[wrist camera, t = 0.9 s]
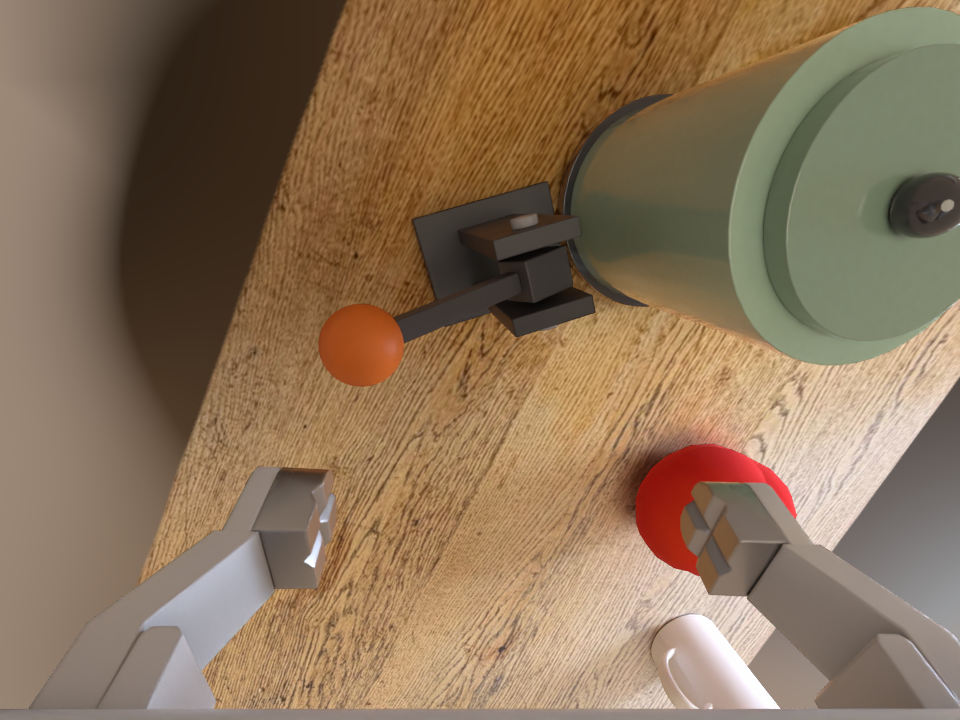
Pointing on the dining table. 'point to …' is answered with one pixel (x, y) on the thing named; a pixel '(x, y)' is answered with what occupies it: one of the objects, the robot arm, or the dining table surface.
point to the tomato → (672, 492)
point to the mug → (704, 668)
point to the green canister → (787, 193)
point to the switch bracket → (500, 253)
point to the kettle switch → (431, 316)
